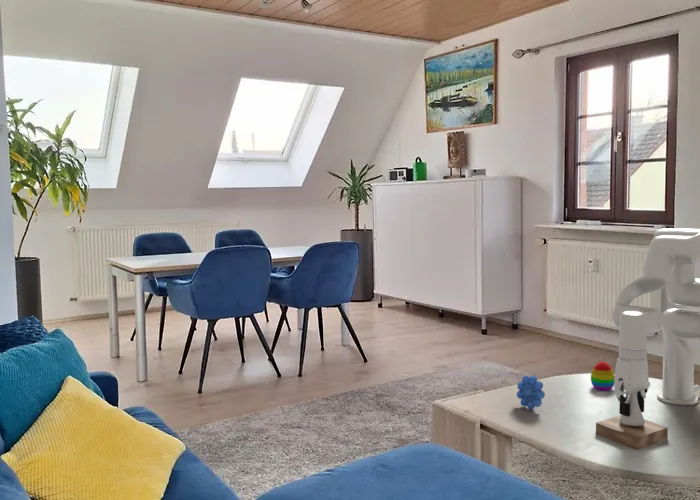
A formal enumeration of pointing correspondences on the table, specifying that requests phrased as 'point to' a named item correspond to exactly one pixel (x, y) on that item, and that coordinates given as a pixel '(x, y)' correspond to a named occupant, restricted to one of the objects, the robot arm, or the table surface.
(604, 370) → the decorative egg
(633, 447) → the flat wooden block
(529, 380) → the grapes
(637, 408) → the flask
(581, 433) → the table surface
